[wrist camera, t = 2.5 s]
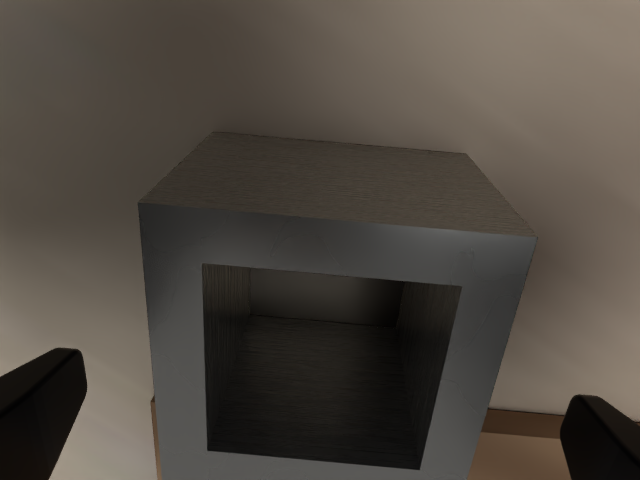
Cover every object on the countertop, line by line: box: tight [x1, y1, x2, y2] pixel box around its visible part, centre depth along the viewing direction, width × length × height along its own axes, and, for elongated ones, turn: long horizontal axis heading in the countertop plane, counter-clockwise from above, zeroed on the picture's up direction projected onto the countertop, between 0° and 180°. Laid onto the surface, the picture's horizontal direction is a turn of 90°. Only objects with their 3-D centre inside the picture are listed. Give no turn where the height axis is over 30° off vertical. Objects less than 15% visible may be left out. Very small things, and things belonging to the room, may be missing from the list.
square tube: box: [138, 132, 538, 480], centre depth 11 cm, size 6×6×5 cm
